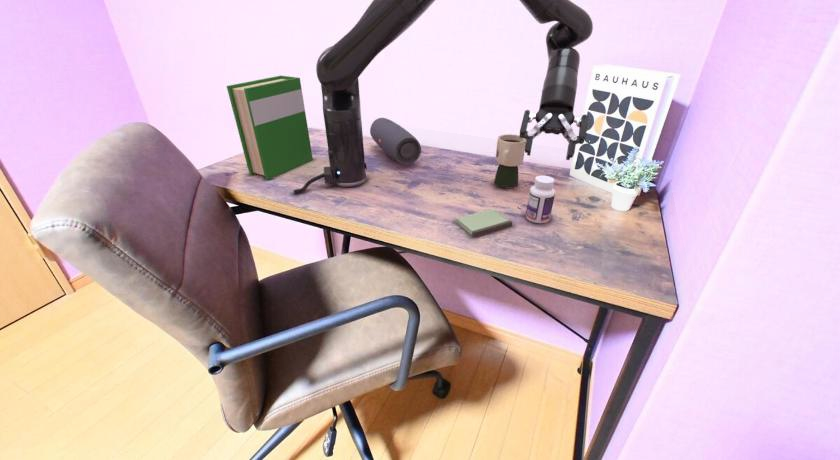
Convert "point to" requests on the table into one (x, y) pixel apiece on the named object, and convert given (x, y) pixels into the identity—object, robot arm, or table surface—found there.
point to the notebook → (483, 222)
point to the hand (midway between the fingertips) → (548, 156)
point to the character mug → (509, 159)
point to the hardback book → (271, 124)
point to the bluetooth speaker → (395, 141)
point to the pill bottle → (540, 200)
